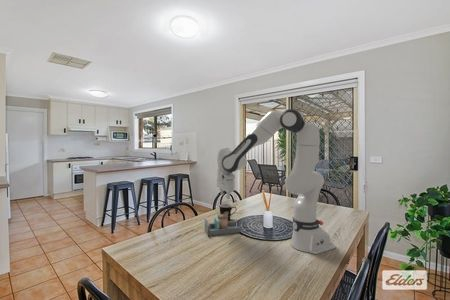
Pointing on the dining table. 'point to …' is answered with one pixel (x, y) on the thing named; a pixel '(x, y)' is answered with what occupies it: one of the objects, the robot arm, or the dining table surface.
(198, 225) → the dining table surface
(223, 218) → the jar
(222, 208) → the coffee mug
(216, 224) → the pusher
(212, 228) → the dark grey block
